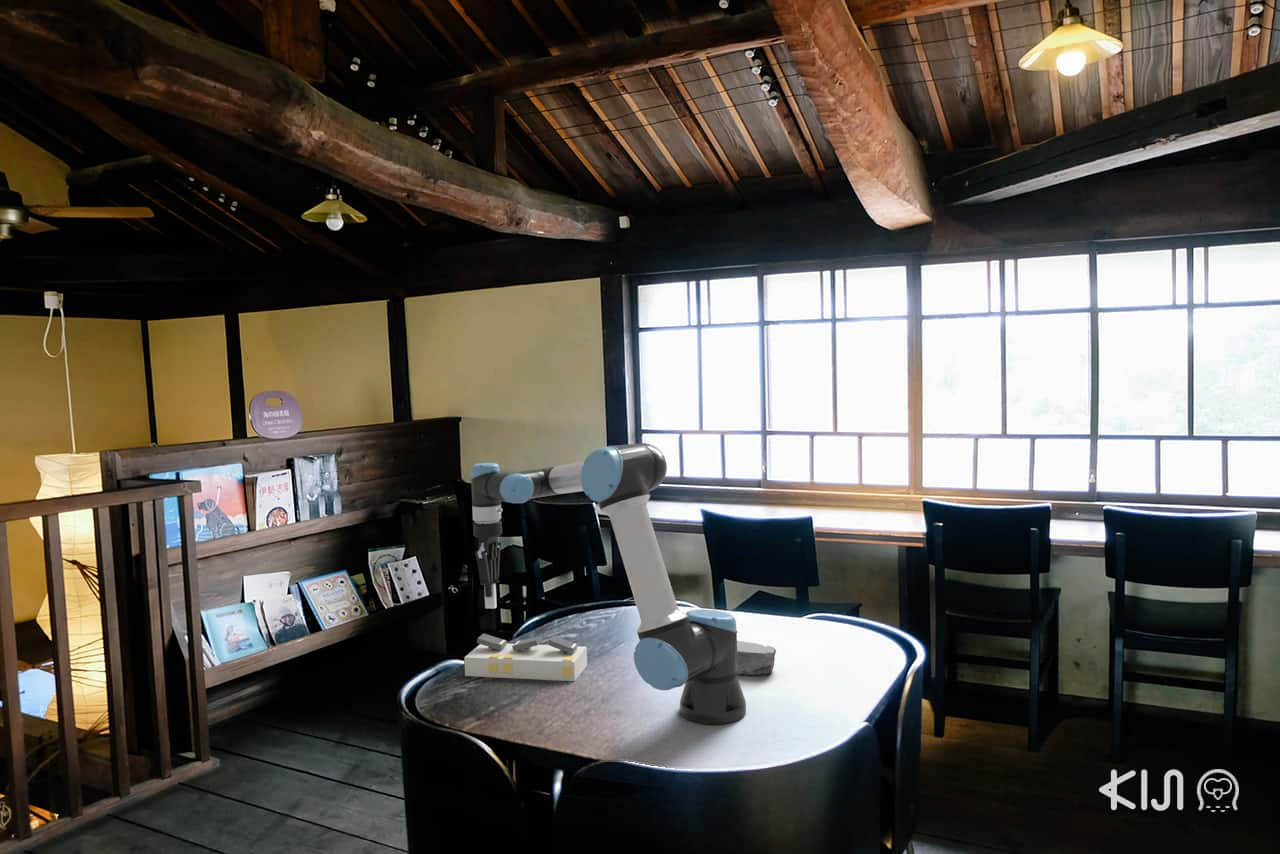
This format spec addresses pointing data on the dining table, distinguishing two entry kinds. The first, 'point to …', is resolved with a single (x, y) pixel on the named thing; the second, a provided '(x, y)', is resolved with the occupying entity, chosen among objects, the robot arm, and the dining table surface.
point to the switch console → (526, 663)
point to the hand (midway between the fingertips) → (490, 607)
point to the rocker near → (563, 644)
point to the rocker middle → (527, 643)
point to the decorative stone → (754, 659)
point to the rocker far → (492, 642)
